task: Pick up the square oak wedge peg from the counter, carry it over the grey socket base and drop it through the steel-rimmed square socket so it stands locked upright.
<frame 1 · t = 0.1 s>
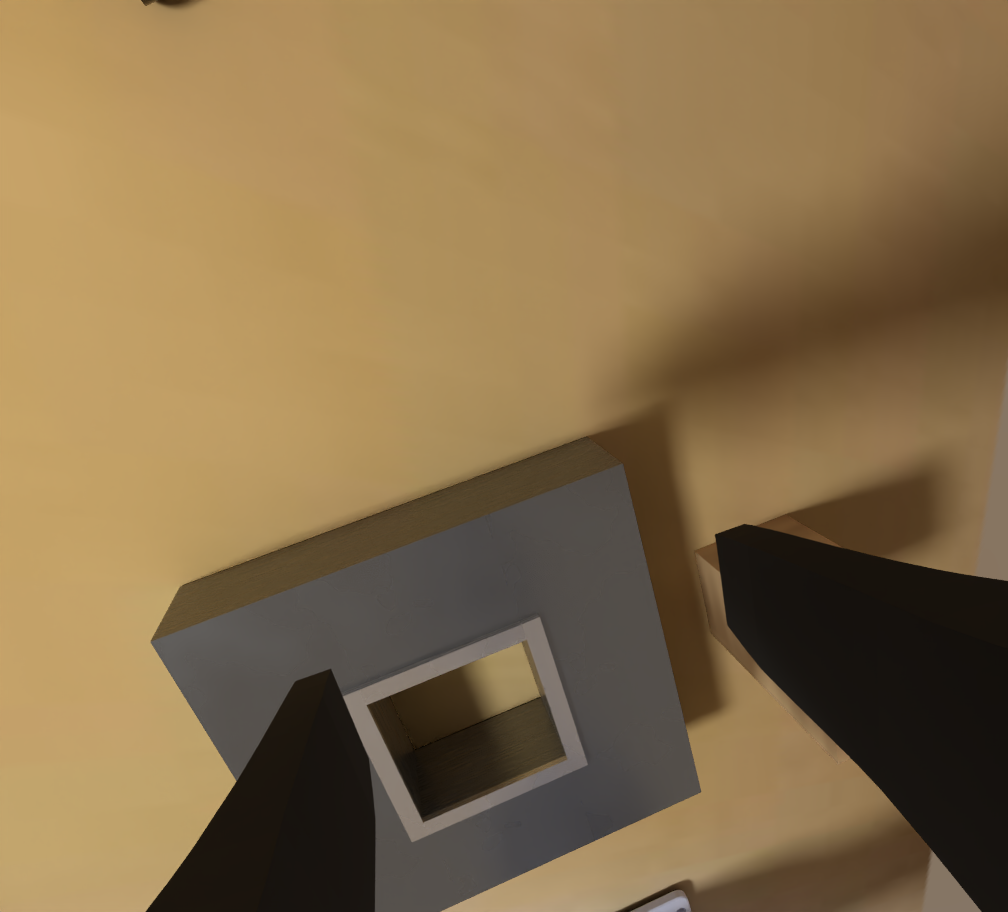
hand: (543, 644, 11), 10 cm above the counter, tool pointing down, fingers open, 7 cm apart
grey socket base: (457, 671, 22), on the counter
oak peg: (747, 574, 24), on the counter
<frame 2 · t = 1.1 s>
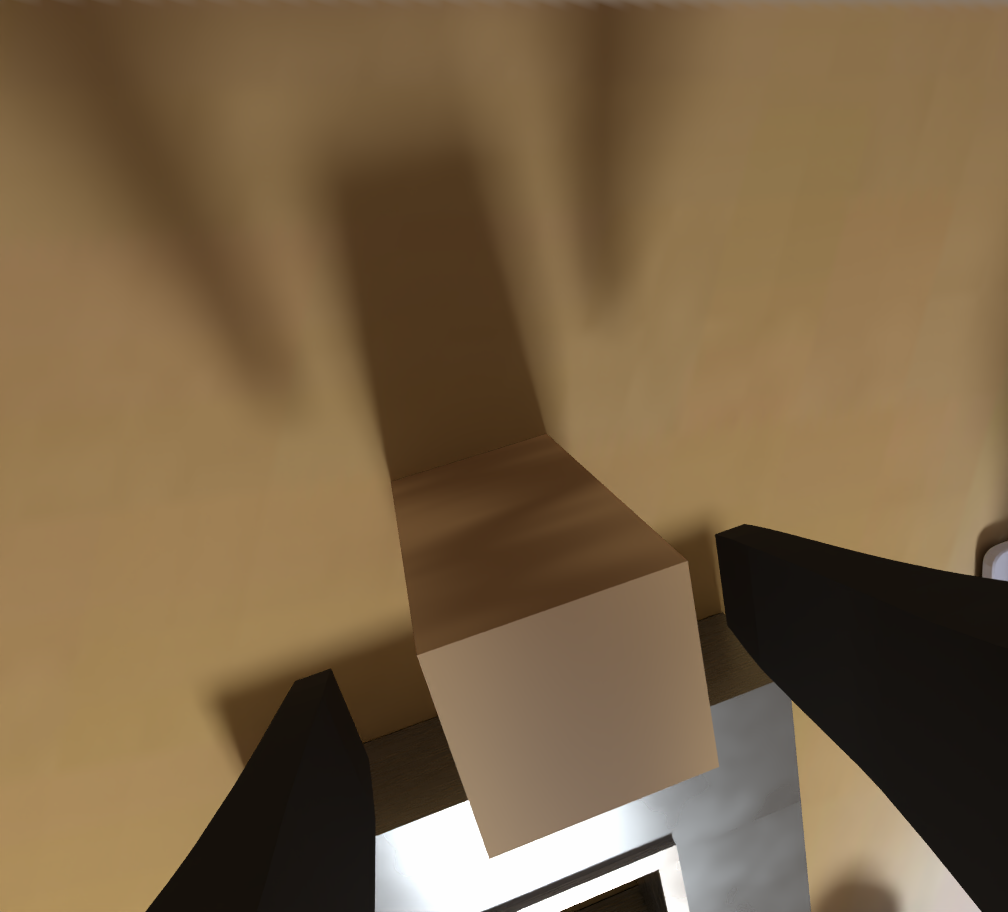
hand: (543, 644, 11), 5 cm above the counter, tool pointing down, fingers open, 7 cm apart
grey socket base: (551, 863, 20), on the counter
oak peg: (489, 528, 16), on the counter
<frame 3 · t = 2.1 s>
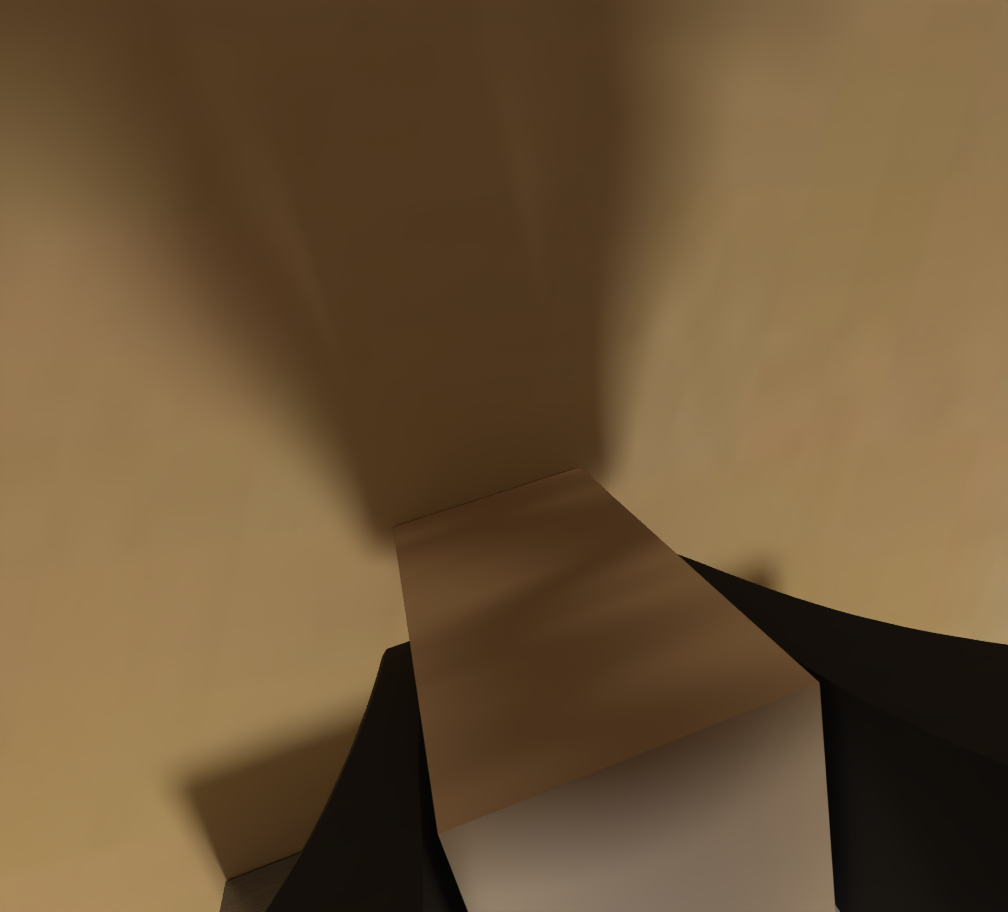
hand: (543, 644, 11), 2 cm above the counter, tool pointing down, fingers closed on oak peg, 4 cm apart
oak peg: (511, 578, 13), on the counter, touching gripper
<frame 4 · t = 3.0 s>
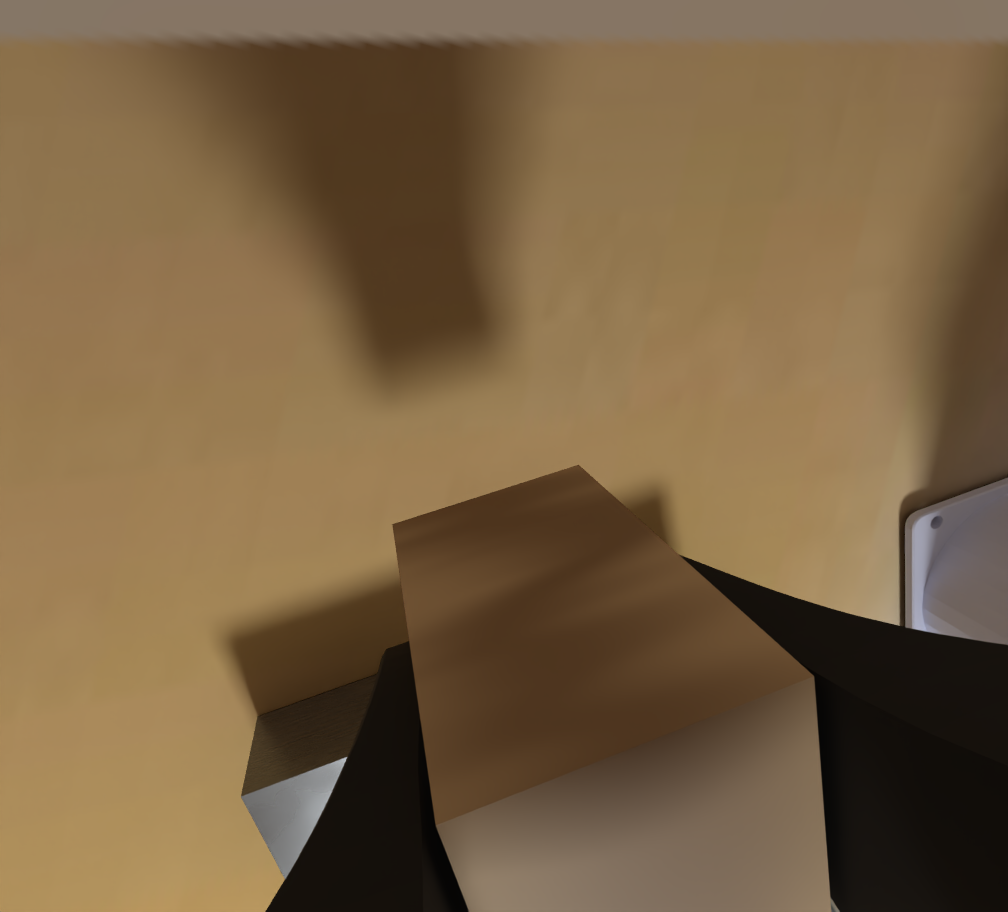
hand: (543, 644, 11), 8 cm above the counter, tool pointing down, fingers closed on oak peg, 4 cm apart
grey socket base: (523, 794, 22), on the counter
oak peg: (510, 576, 13), point 5 cm above the counter, touching gripper
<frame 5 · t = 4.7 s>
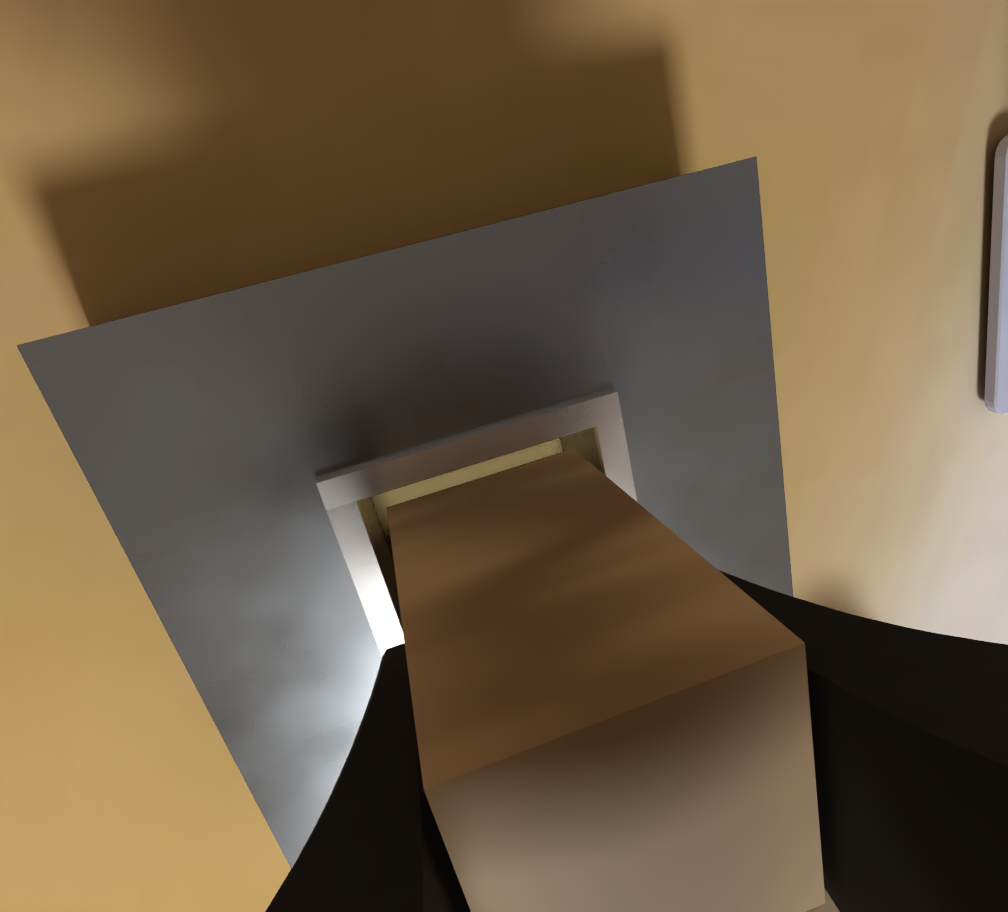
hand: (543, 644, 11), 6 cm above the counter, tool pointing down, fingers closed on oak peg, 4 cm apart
grey socket base: (480, 513, 16), on the counter
oak peg: (505, 561, 13), point 3 cm above the counter, touching gripper
when the fingers open (4 cm above the counter, at t = 5.8 s): oak peg drops 2 cm, resting in grey socket base.
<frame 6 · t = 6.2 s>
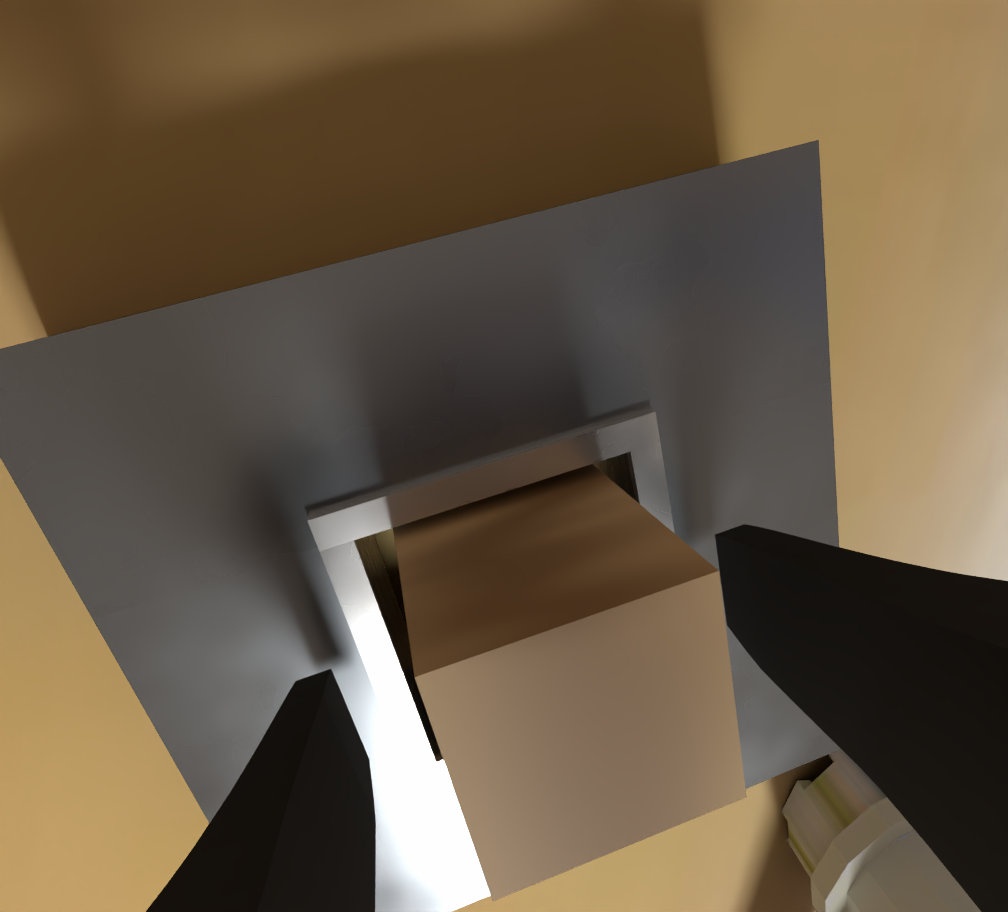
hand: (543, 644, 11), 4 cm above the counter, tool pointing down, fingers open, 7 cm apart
grey socket base: (493, 543, 15), on the counter
oak peg: (491, 531, 15), resting in grey socket base
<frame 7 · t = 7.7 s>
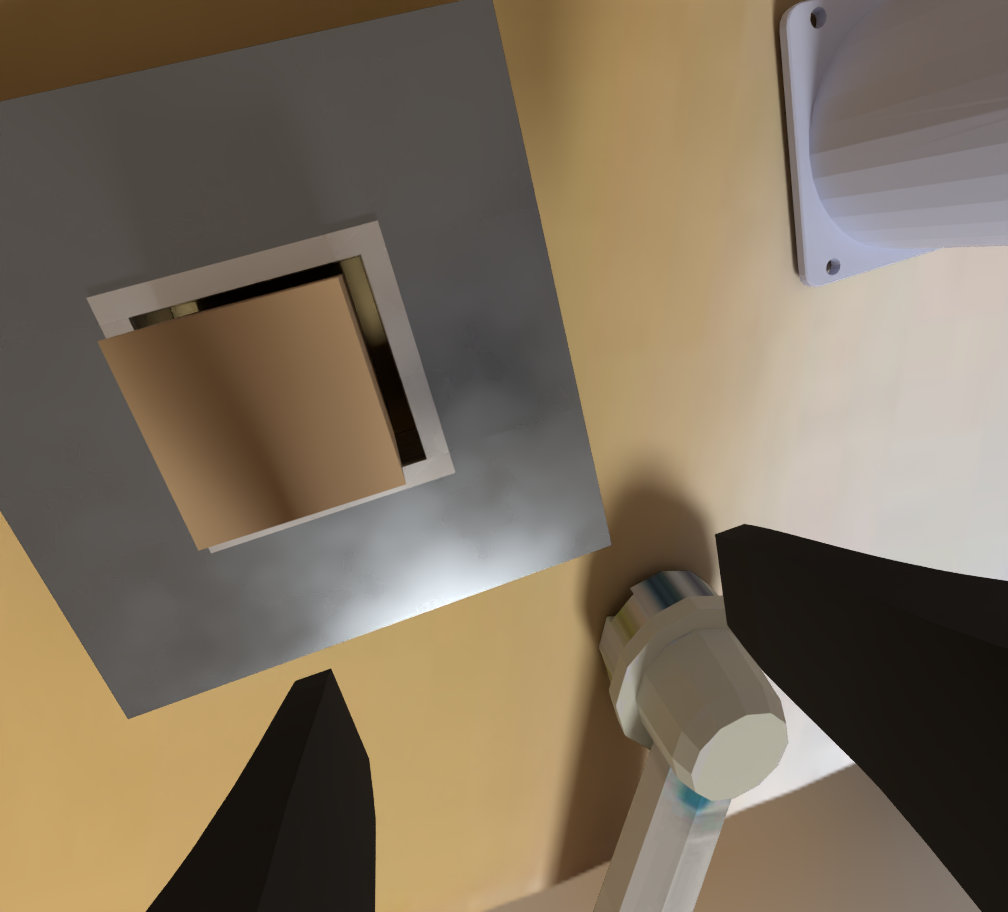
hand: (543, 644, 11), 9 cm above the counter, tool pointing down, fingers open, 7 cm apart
grey socket base: (301, 372, 17), on the counter
oak peg: (298, 361, 17), resting in grey socket base
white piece: (610, 822, 26), on the counter
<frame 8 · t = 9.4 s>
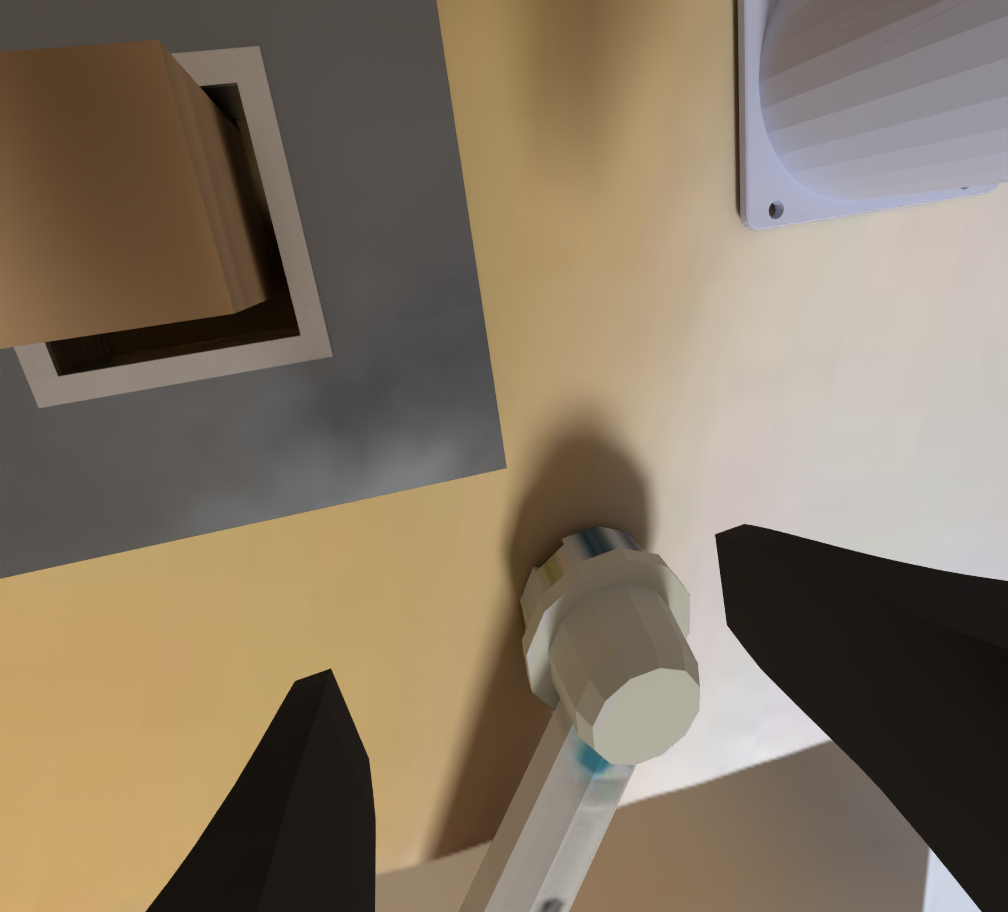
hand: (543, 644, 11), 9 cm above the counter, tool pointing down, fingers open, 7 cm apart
grey socket base: (184, 239, 16), on the counter
oak peg: (182, 227, 16), resting in grey socket base
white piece: (505, 799, 25), on the counter
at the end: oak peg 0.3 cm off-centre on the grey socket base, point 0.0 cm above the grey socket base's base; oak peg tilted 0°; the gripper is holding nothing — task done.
